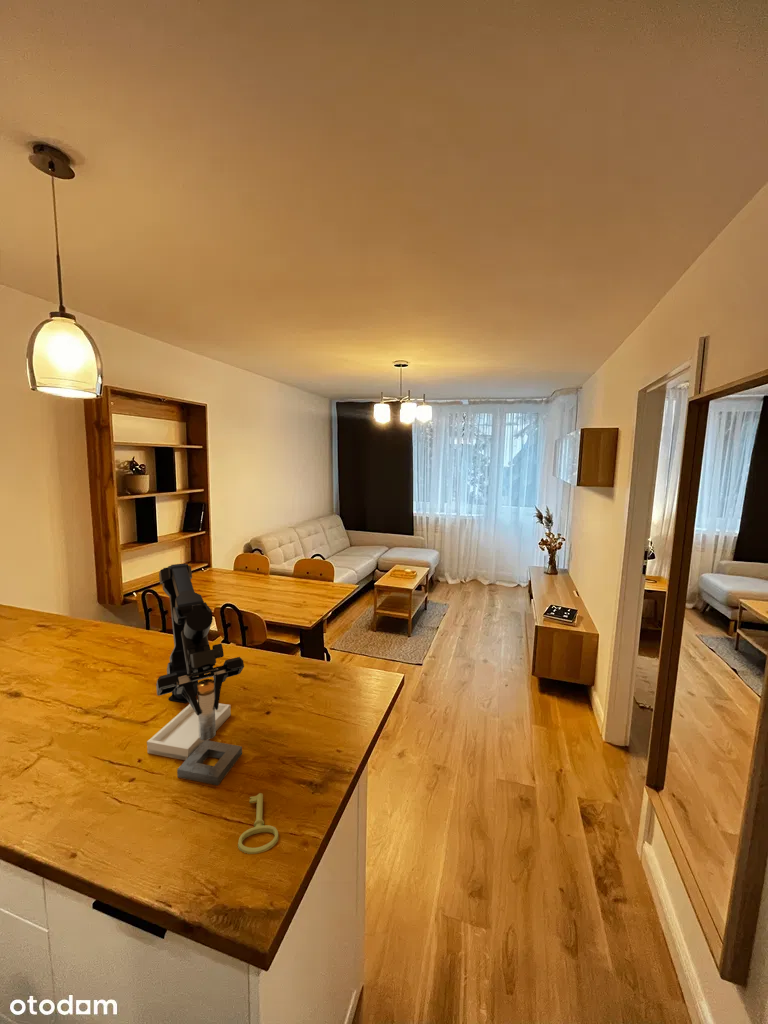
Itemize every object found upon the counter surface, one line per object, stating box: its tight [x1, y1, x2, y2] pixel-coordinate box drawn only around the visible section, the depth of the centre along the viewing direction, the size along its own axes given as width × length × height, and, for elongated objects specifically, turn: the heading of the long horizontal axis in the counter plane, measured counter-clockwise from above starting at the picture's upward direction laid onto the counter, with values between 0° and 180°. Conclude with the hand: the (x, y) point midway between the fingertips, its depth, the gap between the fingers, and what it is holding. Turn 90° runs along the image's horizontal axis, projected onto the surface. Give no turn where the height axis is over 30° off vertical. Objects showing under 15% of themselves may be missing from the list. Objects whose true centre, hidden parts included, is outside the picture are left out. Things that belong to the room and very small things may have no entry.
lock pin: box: [197, 678, 217, 741], centre depth 97 cm, size 4×4×13 cm
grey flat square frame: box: [176, 739, 243, 786], centre depth 98 cm, size 10×10×2 cm
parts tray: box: [146, 699, 232, 761], centre depth 109 cm, size 11×18×3 cm, turn 168°
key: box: [237, 792, 280, 855], centre depth 82 cm, size 7×12×2 cm, turn 33°
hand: (207, 712), depth 96 cm, fingers closed on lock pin, 4 cm apart
